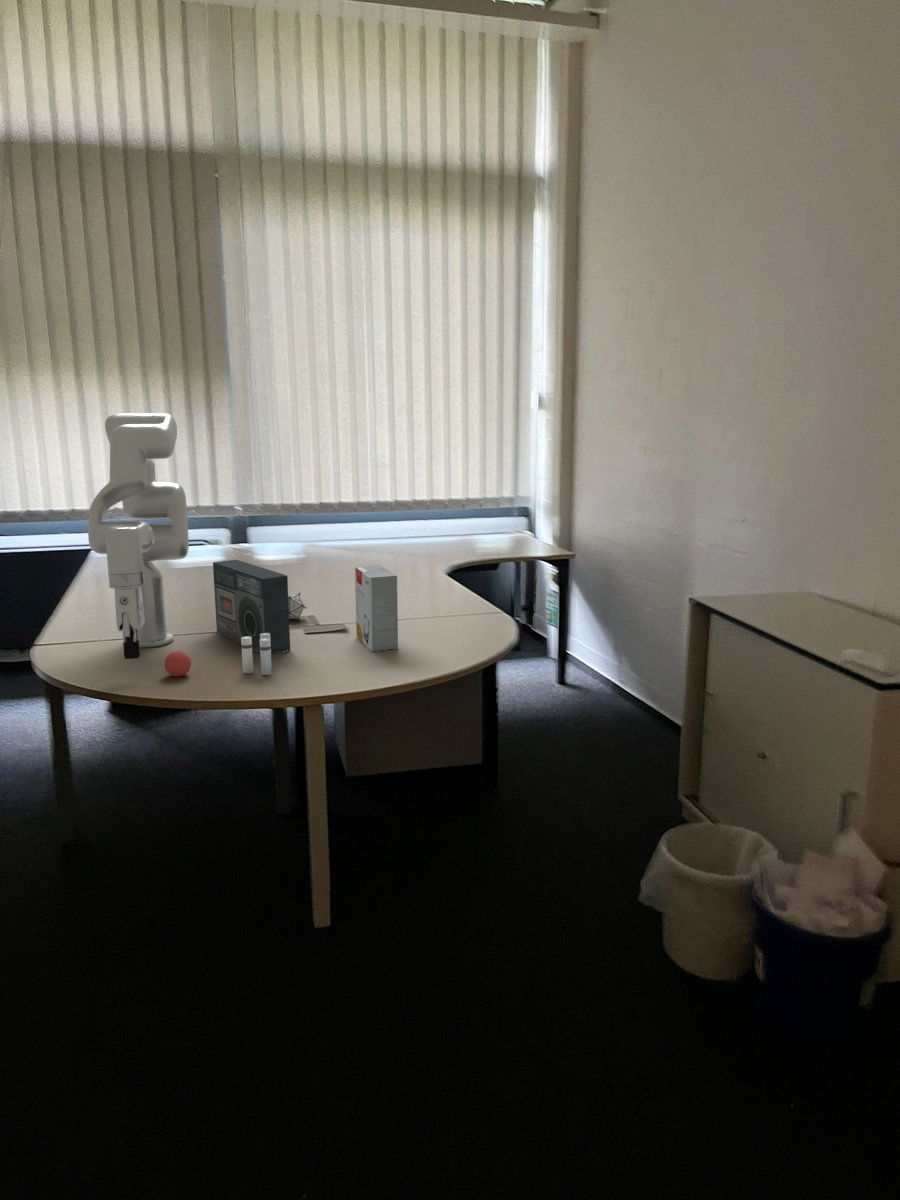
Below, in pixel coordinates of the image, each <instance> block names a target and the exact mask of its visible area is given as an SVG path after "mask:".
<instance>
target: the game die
mask: <svg viewBox="0 0 900 1200" xmlns="http://www.w3.org/2000/svg"><path fill="white" fill-rule="evenodd" d="M300 595H301V592H299V593H298V594H288V603H289V620H298V621H300V622H301V618H300V617H301V616H302V614H303V611H304V609H305V610H306V609H307V607H306V605H305V604H304V603H303V601H302V599H301V597H300Z"/></svg>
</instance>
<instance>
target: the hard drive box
mask: <svg viewBox="0 0 900 1200" xmlns="http://www.w3.org/2000/svg"><path fill="white" fill-rule="evenodd" d="M354 582H355V583H354V586H355V588H354V590H355V591H354V592H355V593H354V594H355V625H356V626H355V627H356V629H355V631H356V637H357V638H358V640H359V641H360V642H361V643H362V644H363V645H364V646H365V647H366V648H367V649H368V648H369V649H368V650H369V651H370V650H371V651H375V652H381V651H380V650H384V651H390V650H389V649H393V650H398V649H399V632H398V631H399V628H398V627H399V626H398V625H399V624H398V623H399V622H398V619H399V617H398V616H399V615H398V576H397V574H395V573H394V572H392V571H390V570H389V569H388V568H386V567H384V566H382V565H381V564H371V565H357V566H354ZM371 651H370V652H371Z"/></svg>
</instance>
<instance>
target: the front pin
mask: <svg viewBox="0 0 900 1200" xmlns="http://www.w3.org/2000/svg"><path fill="white" fill-rule="evenodd" d="M240 645H241V660H242V663H241V664H242V673H243V674H245V673H249V674H252V673H254V663H253V662H254V661H253V649H252V638H251V637H242V638H241V643H240Z"/></svg>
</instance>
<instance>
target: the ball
mask: <svg viewBox="0 0 900 1200" xmlns="http://www.w3.org/2000/svg"><path fill="white" fill-rule="evenodd" d="M191 667H192V660H191V657H190V656H189V655H188V654H187V653H186V652H185V651H181V650H174V651H172V652H170V653H169V654H168V655H167V656H166V657H165V660H164V668H165V671H166V672H167V673H168V674H169V675H171V676H173V677H182V676H185V675H186V674H188V673H189V671H190V670H191Z"/></svg>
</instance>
